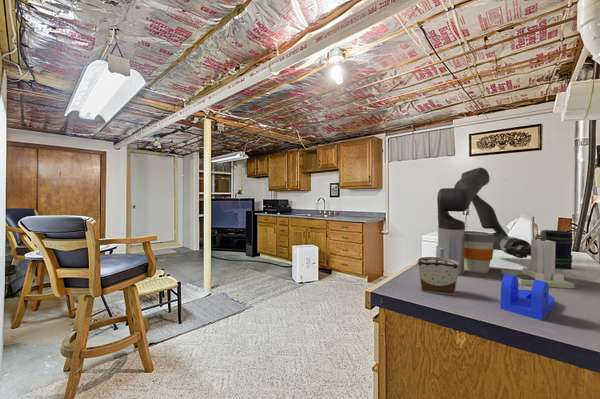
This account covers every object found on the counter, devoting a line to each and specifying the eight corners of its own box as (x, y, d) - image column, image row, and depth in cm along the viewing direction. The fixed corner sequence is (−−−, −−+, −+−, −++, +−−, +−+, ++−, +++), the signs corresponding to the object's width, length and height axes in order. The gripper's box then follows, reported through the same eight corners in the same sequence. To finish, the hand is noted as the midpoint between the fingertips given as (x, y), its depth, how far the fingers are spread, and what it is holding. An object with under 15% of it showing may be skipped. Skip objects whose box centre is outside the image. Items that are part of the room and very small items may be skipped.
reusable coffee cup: (501, 274, 101) (502, 235, 100) (465, 273, 103) (466, 234, 102) (483, 265, 113) (484, 231, 113) (452, 264, 115) (453, 230, 115)
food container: (455, 288, 86) (456, 258, 86) (460, 295, 80) (460, 263, 80) (414, 284, 90) (415, 255, 90) (416, 290, 84) (416, 259, 84)
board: (520, 284, 90) (521, 274, 90) (501, 273, 102) (501, 264, 102) (574, 288, 86) (574, 278, 86) (546, 276, 99) (547, 267, 99)
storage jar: (538, 265, 114) (539, 231, 113) (541, 261, 120) (542, 229, 120) (571, 270, 106) (572, 234, 106) (572, 266, 113) (573, 231, 113)
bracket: (541, 321, 64) (542, 285, 64) (500, 309, 71) (501, 276, 71) (557, 303, 75) (558, 272, 75) (520, 294, 82) (520, 265, 81)
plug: (539, 279, 91) (540, 232, 91) (530, 274, 96) (531, 230, 96) (556, 280, 90) (557, 232, 90) (546, 275, 95) (547, 230, 94)
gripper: (495, 237, 112) (517, 244, 96) (535, 238, 109) (564, 246, 93) (495, 254, 112) (516, 264, 96) (534, 256, 109) (563, 267, 93)
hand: (540, 255), depth 95 cm, fingers open, 8 cm apart
